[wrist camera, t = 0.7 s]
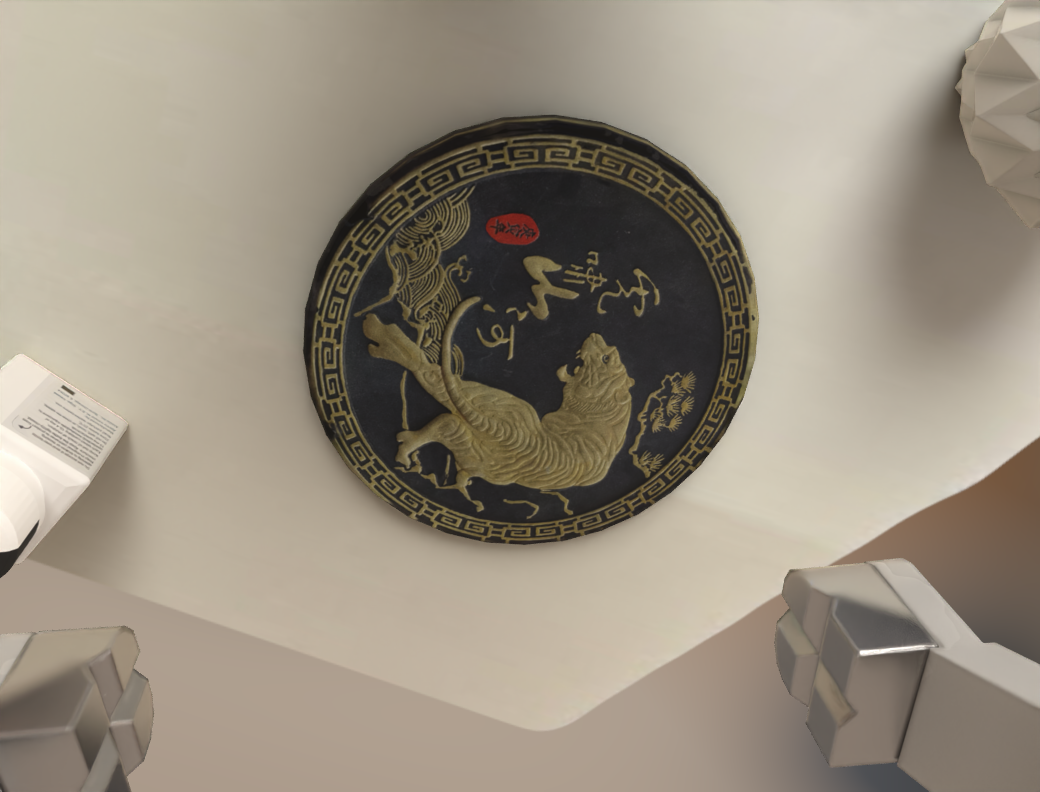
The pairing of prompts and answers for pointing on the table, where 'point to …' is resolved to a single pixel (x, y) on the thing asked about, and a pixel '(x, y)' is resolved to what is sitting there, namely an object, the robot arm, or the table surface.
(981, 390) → the table surface
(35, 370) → the container
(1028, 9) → the vase
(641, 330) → the decorative plate
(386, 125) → the table surface
